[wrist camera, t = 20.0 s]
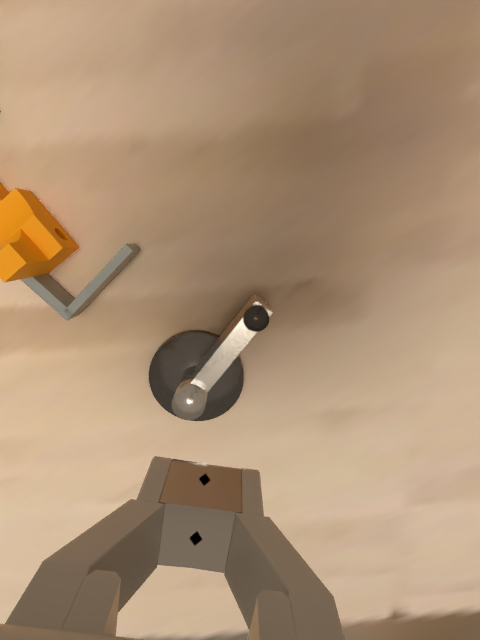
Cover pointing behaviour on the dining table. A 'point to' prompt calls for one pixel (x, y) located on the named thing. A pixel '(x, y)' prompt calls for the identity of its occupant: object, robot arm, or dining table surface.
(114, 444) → the dining table surface
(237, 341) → the crank
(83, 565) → the robot arm
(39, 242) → the pipe clamp
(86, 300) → the bay
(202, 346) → the crank base
